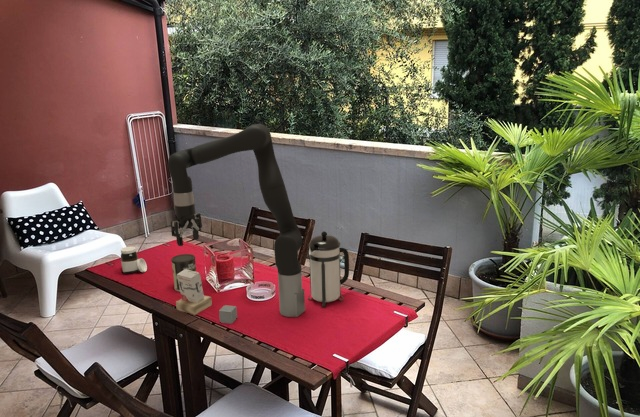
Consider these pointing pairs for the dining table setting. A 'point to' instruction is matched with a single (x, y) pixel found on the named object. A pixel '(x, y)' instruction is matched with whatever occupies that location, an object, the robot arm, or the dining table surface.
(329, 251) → the coffee press
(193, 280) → the ink box
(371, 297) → the dining table surface
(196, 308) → the beech block
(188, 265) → the coffee can
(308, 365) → the dining table surface
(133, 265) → the spread jar
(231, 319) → the slate cube
